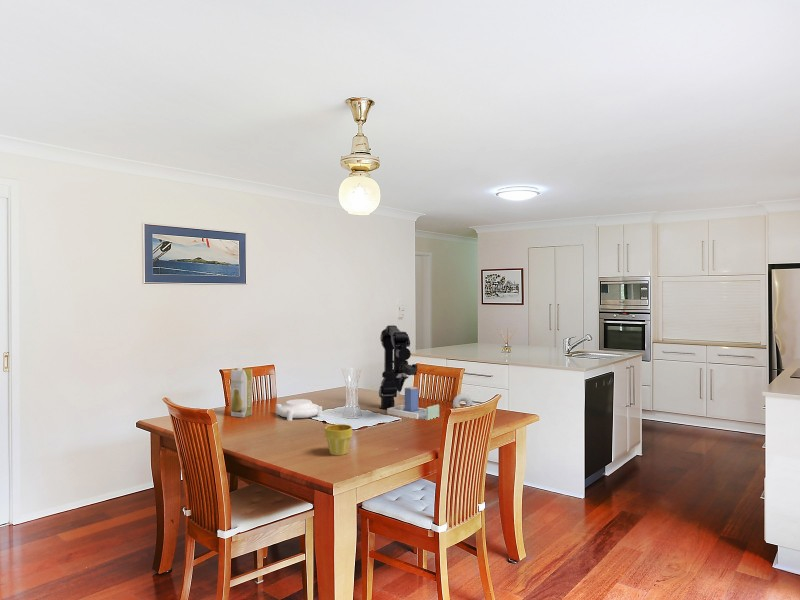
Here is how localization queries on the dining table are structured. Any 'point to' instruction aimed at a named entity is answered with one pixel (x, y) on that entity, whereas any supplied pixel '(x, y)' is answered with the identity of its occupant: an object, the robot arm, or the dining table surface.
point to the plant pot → (338, 438)
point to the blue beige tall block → (411, 399)
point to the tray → (428, 412)
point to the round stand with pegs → (298, 409)
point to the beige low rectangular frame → (403, 412)
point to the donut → (462, 398)
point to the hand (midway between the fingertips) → (399, 391)
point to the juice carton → (241, 392)
